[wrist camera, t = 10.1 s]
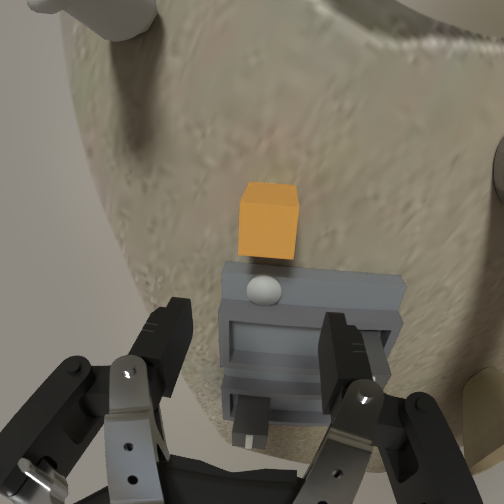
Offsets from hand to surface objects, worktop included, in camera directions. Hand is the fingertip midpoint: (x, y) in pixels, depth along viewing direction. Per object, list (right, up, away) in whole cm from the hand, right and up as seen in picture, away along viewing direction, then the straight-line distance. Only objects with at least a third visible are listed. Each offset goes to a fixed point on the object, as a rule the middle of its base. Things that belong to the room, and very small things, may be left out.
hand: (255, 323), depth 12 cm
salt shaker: (-11, +24, +7) cm, 27 cm away
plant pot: (+39, -19, +23) cm, 49 cm away
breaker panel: (+6, -10, +22) cm, 25 cm away
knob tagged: (0, -16, +23) cm, 28 cm away
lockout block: (+2, +7, +14) cm, 16 cm away
